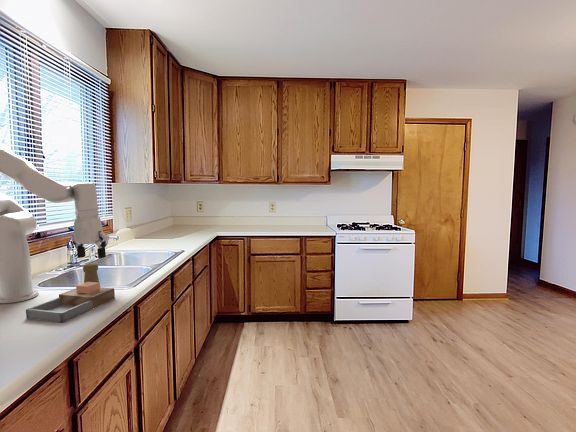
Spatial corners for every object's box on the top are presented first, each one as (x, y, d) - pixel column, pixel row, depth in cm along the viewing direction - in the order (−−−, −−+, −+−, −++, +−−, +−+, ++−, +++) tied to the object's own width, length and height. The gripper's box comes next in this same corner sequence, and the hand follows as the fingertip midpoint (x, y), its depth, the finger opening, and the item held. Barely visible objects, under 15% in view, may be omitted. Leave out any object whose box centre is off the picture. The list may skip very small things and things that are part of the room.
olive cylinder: (97, 287, 136) (95, 261, 135) (103, 290, 132) (101, 263, 131) (80, 291, 132) (78, 264, 131) (86, 294, 128) (84, 266, 127)
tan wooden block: (59, 305, 116) (58, 294, 116) (83, 296, 126) (82, 285, 125) (92, 308, 113) (92, 297, 112) (114, 298, 122) (114, 288, 122)
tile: (76, 292, 118) (76, 285, 117) (88, 288, 122) (87, 281, 122) (88, 293, 116) (87, 286, 116) (99, 289, 121) (99, 282, 121)
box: (26, 318, 105) (25, 309, 105) (59, 305, 116) (58, 297, 116) (62, 322, 102) (61, 313, 101) (92, 308, 113) (92, 300, 112)
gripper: (60, 215, 128) (65, 259, 129) (98, 215, 123) (102, 260, 125) (77, 213, 135) (81, 255, 137) (113, 212, 131) (117, 255, 132)
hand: (91, 257), depth 131 cm, fingers open, 9 cm apart
